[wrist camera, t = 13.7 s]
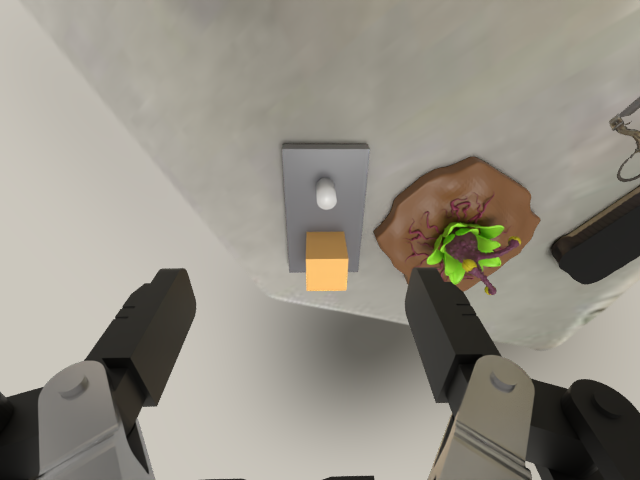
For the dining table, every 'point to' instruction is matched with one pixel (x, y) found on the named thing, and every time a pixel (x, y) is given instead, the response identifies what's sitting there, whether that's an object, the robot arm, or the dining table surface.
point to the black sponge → (602, 242)
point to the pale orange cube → (326, 261)
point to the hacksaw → (627, 131)
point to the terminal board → (306, 196)
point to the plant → (458, 223)
